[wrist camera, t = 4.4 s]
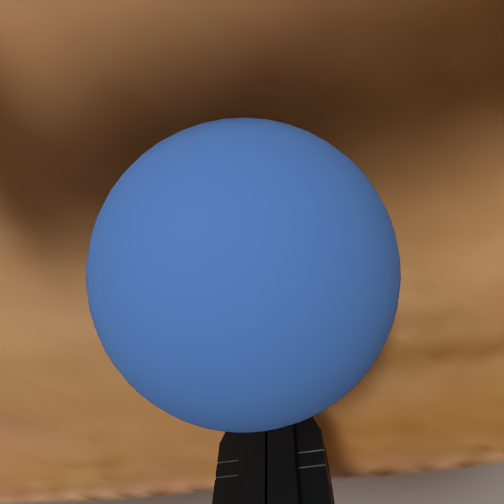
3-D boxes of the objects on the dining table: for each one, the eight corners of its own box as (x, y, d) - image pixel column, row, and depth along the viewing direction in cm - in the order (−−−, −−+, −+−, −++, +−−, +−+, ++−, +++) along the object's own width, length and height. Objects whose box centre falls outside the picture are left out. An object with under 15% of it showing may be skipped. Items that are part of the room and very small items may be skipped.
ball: (184, 323, 12) (118, 526, 7) (107, 137, 10) (-89, 231, 4) (375, 287, 11) (466, 489, 6) (344, 71, 9) (453, 90, 4)
